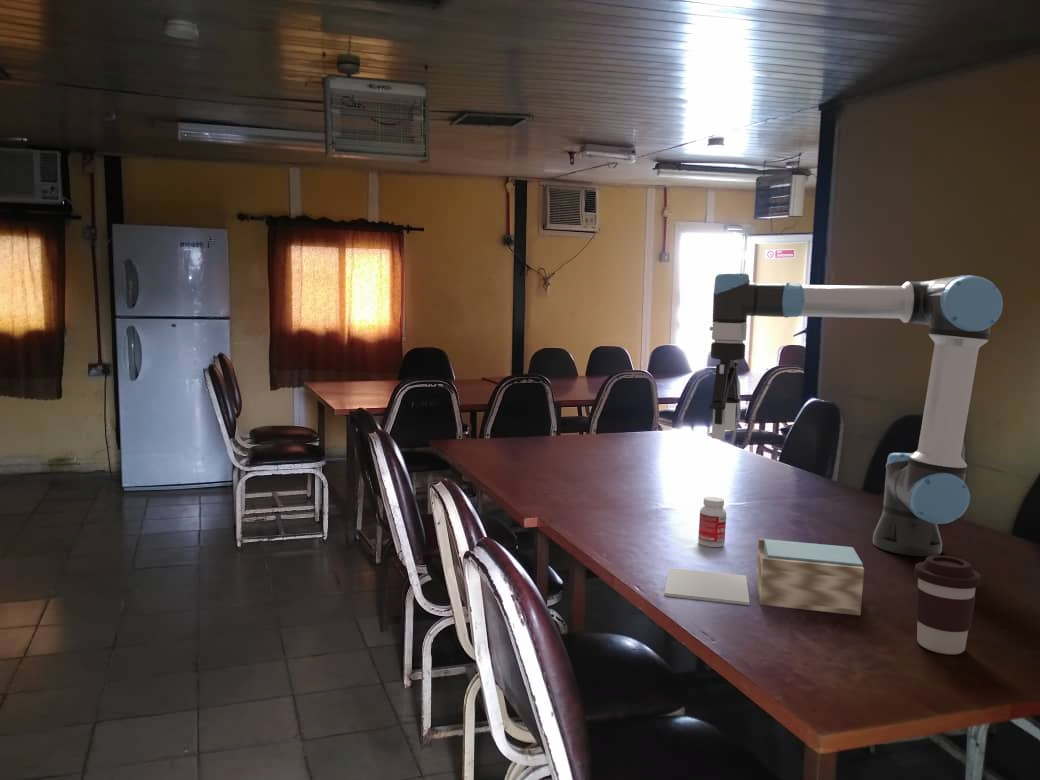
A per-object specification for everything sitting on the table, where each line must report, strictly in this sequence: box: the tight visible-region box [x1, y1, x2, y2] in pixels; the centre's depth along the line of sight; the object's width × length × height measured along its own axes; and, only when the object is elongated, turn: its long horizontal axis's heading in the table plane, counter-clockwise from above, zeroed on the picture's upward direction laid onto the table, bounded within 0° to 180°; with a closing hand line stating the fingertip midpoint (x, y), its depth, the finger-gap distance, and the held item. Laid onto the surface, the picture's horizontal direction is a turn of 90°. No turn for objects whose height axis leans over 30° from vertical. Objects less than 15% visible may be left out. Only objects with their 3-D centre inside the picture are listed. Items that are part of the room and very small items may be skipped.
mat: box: [663, 567, 751, 606], centre depth 166 cm, size 16×16×1 cm
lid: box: [763, 538, 864, 568], centre depth 161 cm, size 17×11×2 cm, turn 77°
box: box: [755, 538, 865, 616], centre depth 161 cm, size 18×14×9 cm
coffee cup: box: [914, 554, 982, 655], centre depth 139 cm, size 10×10×15 cm
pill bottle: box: [697, 496, 727, 548], centre depth 195 cm, size 6×6×11 cm
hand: (723, 434), depth 189 cm, fingers open, 13 cm apart
